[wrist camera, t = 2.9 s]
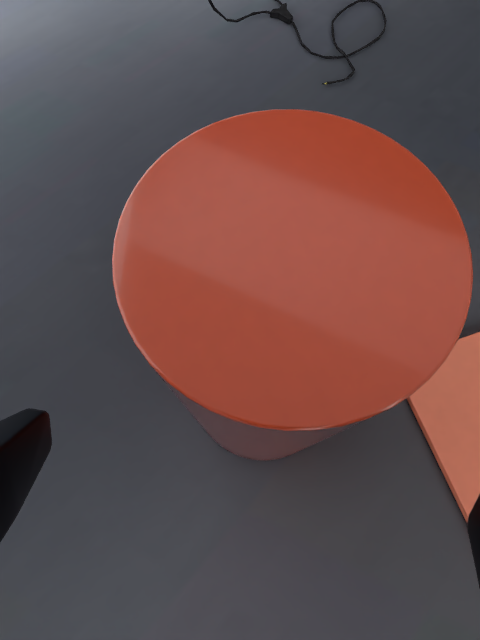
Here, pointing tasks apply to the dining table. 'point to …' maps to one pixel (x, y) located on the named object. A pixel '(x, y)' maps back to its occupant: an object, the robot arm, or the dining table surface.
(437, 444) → the terracotta mat
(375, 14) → the dining table surface
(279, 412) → the terracotta tumbler
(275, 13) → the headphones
